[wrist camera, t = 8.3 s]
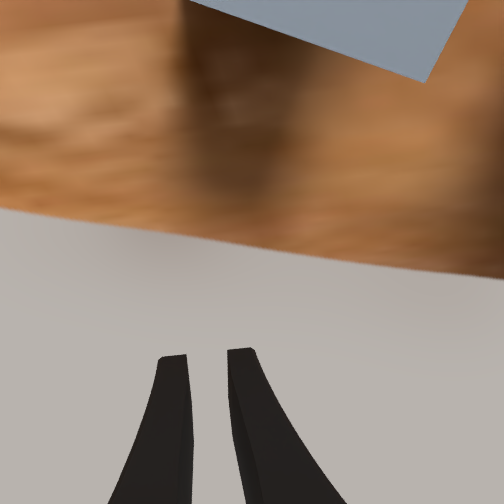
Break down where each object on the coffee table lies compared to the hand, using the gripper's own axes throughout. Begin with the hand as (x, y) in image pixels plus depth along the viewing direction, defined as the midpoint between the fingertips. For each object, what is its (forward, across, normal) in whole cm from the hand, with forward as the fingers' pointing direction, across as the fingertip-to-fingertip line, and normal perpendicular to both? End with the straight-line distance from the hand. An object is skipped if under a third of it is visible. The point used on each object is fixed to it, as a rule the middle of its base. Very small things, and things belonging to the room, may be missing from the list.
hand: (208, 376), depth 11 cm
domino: (+10, -3, -8) cm, 14 cm away
